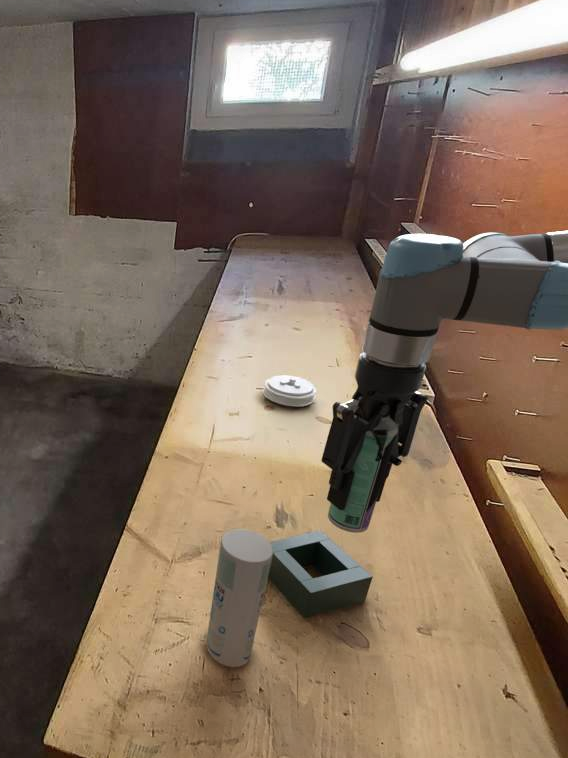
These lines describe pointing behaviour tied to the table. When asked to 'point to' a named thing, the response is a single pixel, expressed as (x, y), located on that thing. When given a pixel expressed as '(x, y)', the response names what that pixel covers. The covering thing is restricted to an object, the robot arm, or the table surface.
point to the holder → (338, 570)
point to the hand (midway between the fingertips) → (353, 500)
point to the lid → (289, 390)
